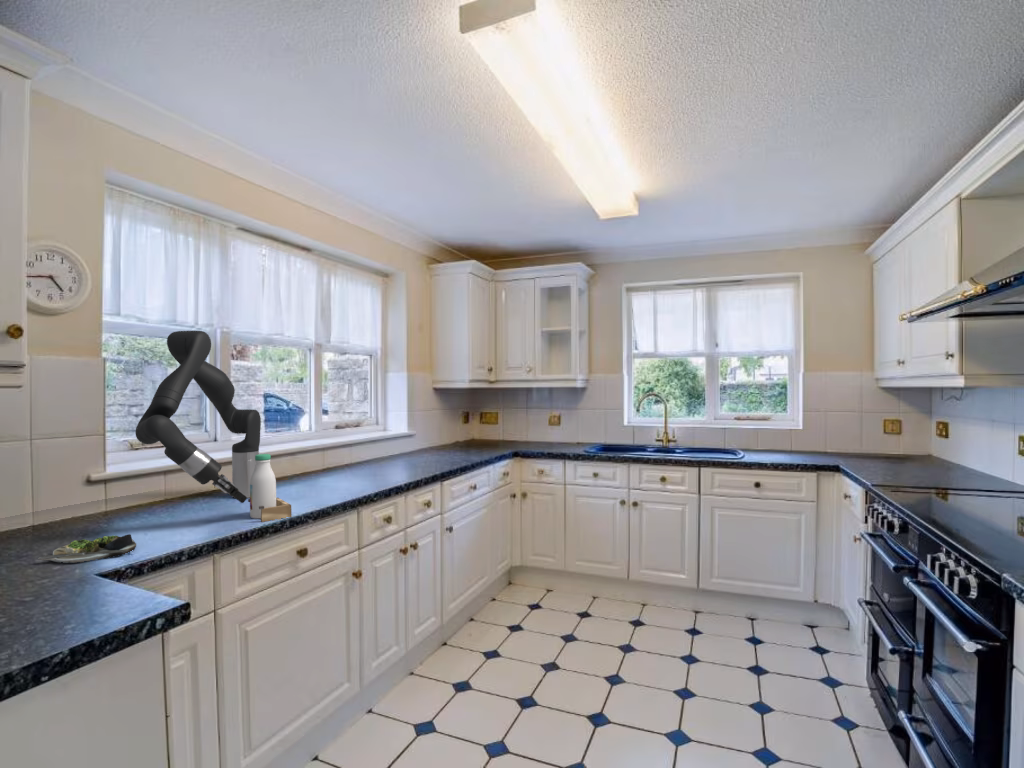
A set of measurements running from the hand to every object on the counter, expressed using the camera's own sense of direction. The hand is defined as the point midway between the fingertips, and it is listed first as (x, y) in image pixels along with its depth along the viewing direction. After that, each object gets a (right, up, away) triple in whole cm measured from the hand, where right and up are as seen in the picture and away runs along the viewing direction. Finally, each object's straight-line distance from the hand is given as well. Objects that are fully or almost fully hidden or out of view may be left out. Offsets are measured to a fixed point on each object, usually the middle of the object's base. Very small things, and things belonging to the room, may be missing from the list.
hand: (244, 500), depth 170 cm
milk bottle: (+4, -6, +4) cm, 8 cm away
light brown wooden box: (+6, -6, +5) cm, 10 cm away
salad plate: (-21, -7, -33) cm, 39 cm away
